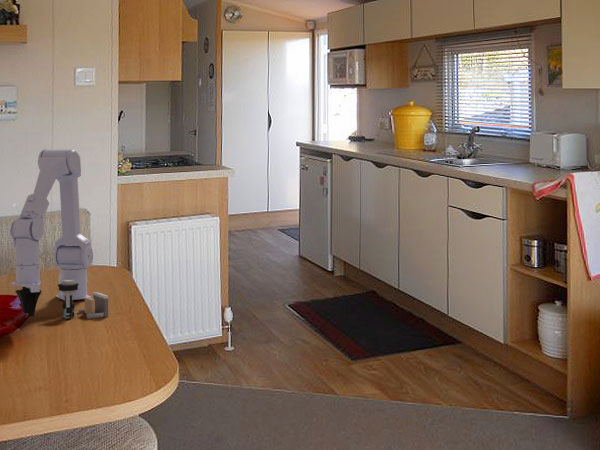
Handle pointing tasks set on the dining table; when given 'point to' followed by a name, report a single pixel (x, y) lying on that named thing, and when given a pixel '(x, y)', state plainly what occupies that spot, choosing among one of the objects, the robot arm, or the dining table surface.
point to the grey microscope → (68, 297)
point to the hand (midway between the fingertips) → (29, 316)
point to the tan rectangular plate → (89, 305)
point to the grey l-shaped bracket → (98, 306)
